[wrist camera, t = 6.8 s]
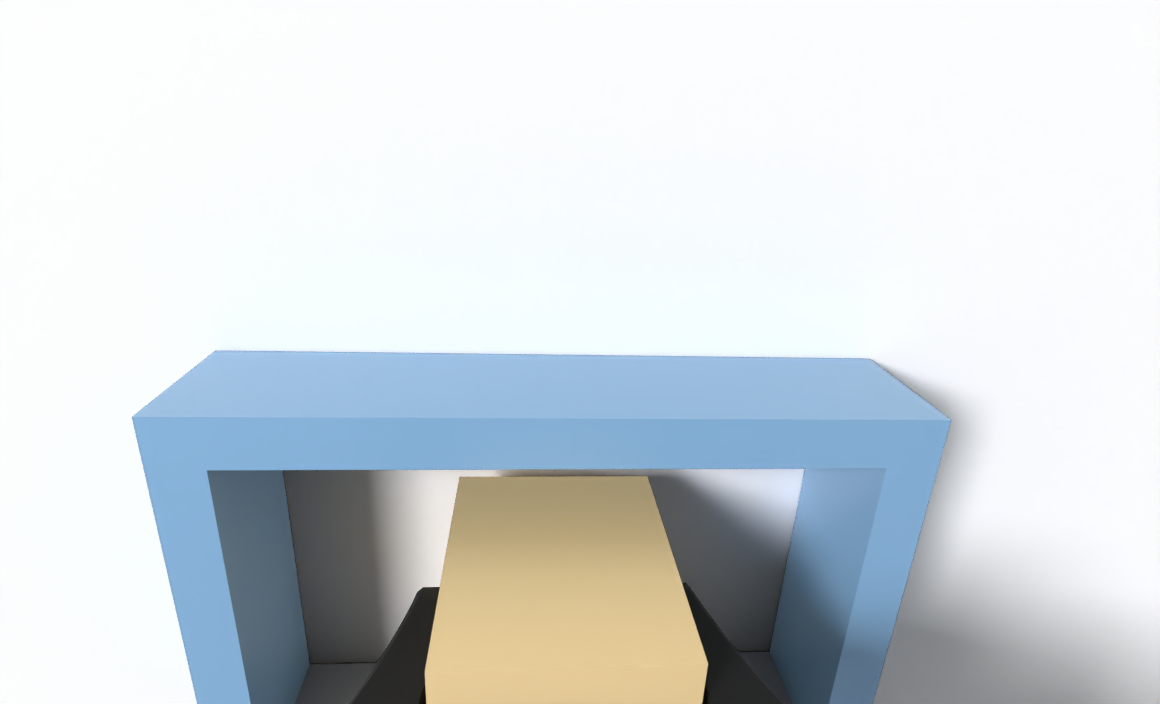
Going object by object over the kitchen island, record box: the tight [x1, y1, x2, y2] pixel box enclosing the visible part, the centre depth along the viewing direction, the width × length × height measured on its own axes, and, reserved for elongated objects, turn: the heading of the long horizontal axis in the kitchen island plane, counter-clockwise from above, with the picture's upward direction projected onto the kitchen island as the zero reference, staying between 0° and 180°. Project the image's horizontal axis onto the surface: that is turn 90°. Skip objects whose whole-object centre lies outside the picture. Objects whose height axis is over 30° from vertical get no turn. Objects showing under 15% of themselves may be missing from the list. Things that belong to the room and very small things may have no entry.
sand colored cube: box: [425, 476, 708, 704], centre depth 12 cm, size 4×5×5 cm
